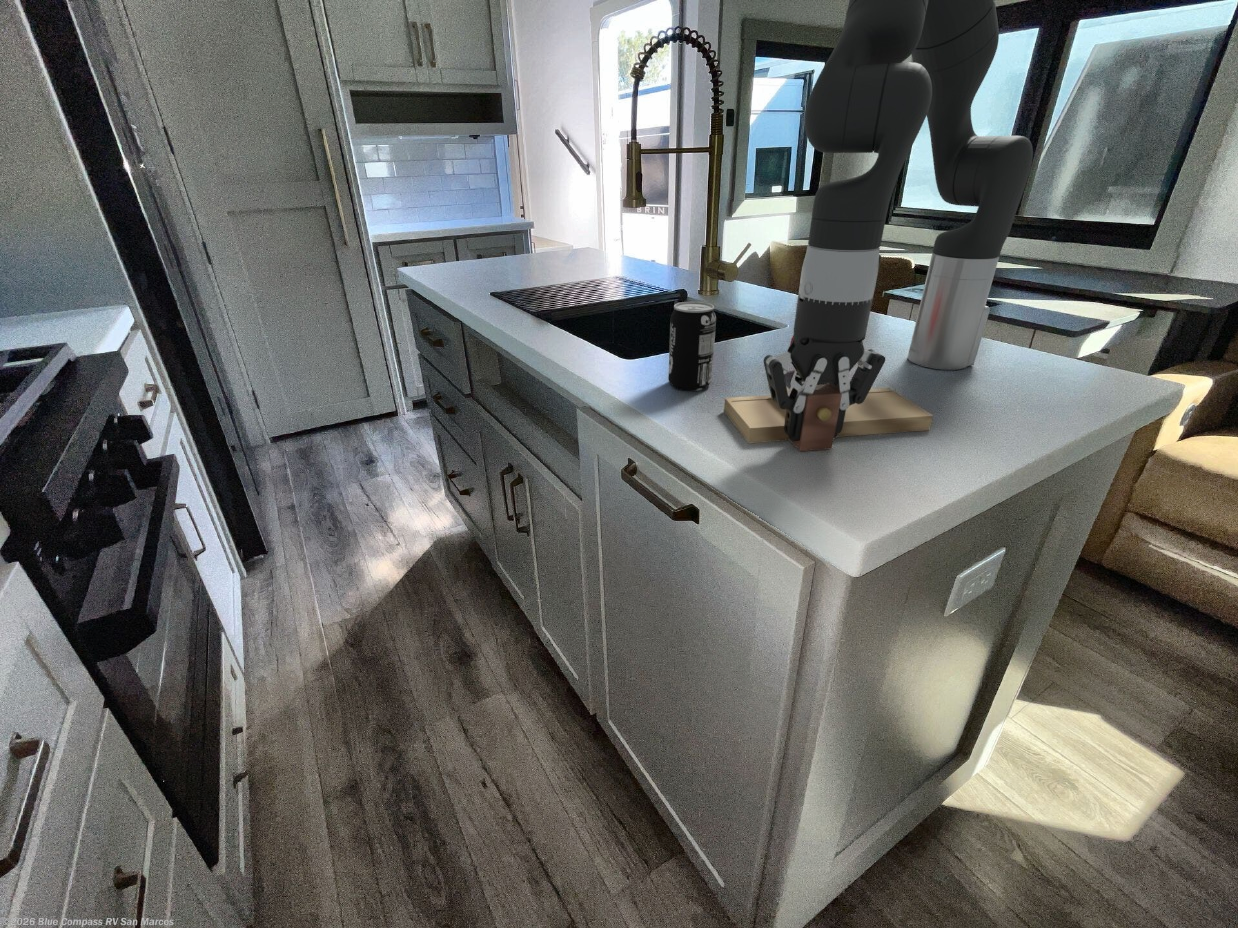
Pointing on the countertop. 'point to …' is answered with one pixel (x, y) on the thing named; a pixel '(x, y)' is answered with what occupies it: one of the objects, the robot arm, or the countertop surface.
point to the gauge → (819, 419)
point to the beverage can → (691, 345)
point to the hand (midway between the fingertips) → (811, 436)
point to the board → (873, 416)
